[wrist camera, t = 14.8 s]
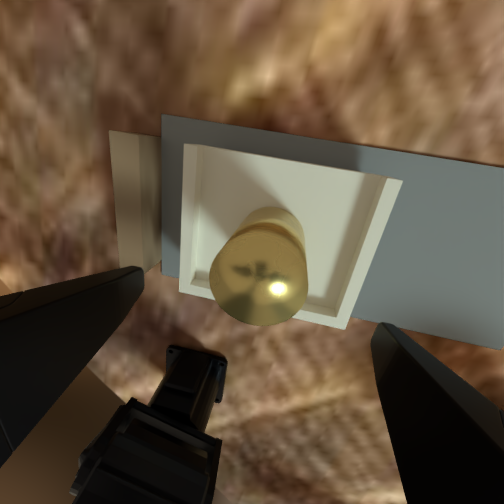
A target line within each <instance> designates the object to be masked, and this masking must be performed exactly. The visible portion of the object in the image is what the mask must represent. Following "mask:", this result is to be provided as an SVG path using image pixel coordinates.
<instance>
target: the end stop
mask: <svg viewBox="0 0 504 504" xmlns="http://www.w3.org/2000/svg"><path fill="white" fill-rule="evenodd" d="M109 140H110V153H111V165H112V178H113V190H114V202H115V215H116V227H117V239H118V252H119V264H120V268H123V267H127V266H138V267H142V268H143V270H144V274H145V273H146V272H147V271H149V270H150V269H151V268H152V267H153V266H155V265H156V264H157V263H158V262H160V261H161V260H162V156H161V137H158V136H152V135H146V134H140V133H132V132H123V131H113V130H109Z"/></svg>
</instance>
